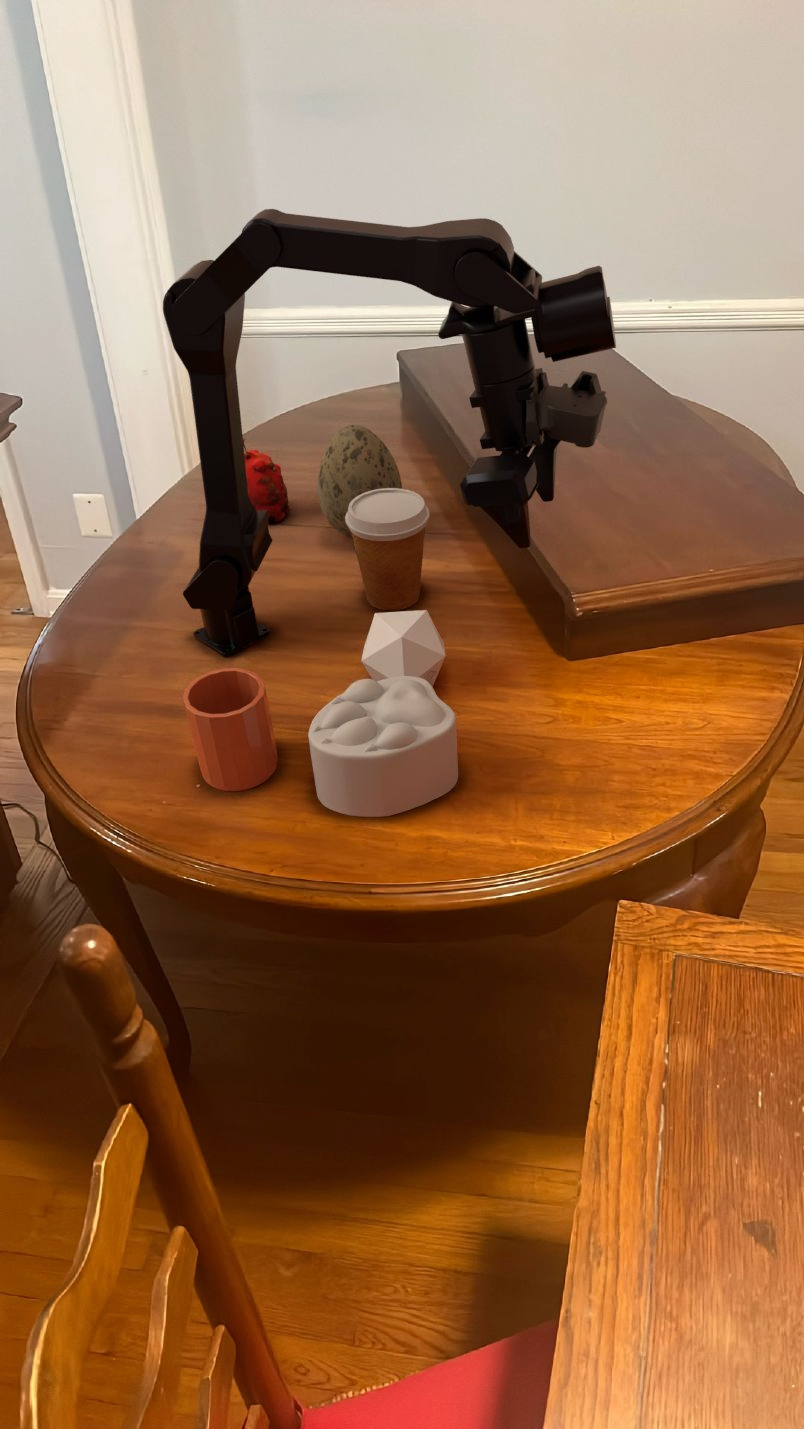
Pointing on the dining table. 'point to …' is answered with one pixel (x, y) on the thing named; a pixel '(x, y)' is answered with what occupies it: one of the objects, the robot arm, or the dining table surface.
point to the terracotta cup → (231, 728)
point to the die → (403, 646)
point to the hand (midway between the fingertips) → (537, 523)
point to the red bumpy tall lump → (266, 485)
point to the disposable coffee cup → (389, 544)
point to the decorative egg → (353, 472)
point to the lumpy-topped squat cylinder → (383, 747)
